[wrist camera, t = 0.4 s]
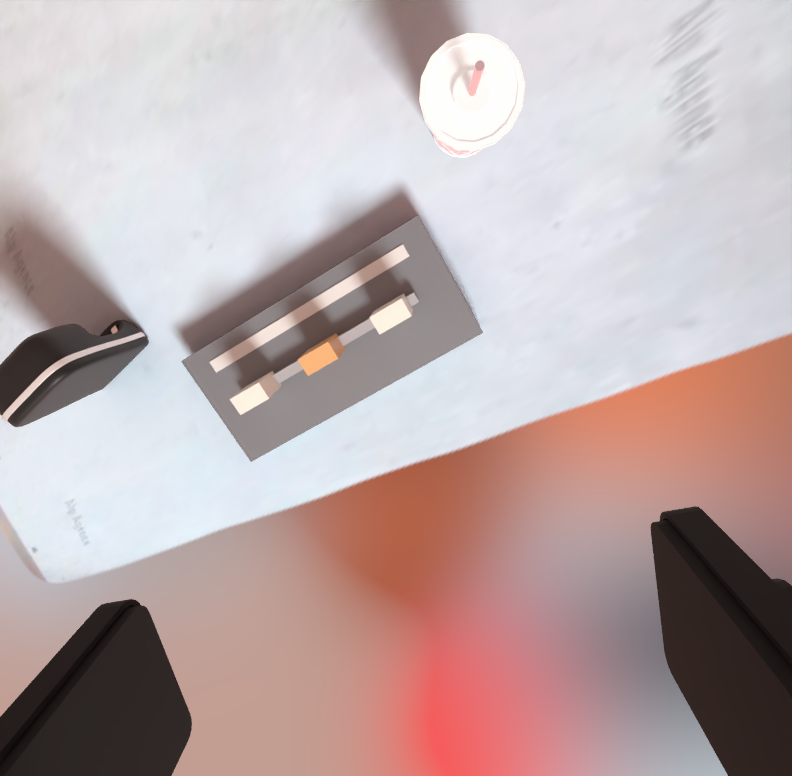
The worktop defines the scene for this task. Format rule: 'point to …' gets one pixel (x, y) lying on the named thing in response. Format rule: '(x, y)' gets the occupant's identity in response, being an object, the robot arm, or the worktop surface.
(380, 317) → the switch paddles
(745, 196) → the worktop surface
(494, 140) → the beverage cup
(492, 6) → the worktop surface
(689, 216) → the worktop surface
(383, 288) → the switch panel
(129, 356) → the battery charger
